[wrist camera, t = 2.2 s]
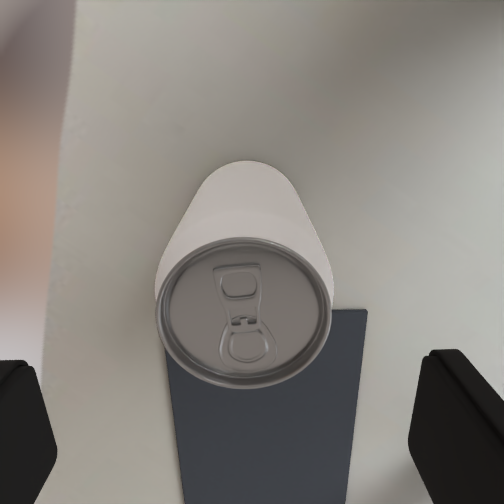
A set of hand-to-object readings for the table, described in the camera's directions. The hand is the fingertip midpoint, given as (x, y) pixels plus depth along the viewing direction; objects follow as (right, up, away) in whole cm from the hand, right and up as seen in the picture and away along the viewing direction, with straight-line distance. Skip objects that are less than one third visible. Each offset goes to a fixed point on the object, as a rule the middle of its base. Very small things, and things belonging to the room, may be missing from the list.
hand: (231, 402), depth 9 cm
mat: (+2, -10, +20) cm, 23 cm away
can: (0, +6, +14) cm, 15 cm away
